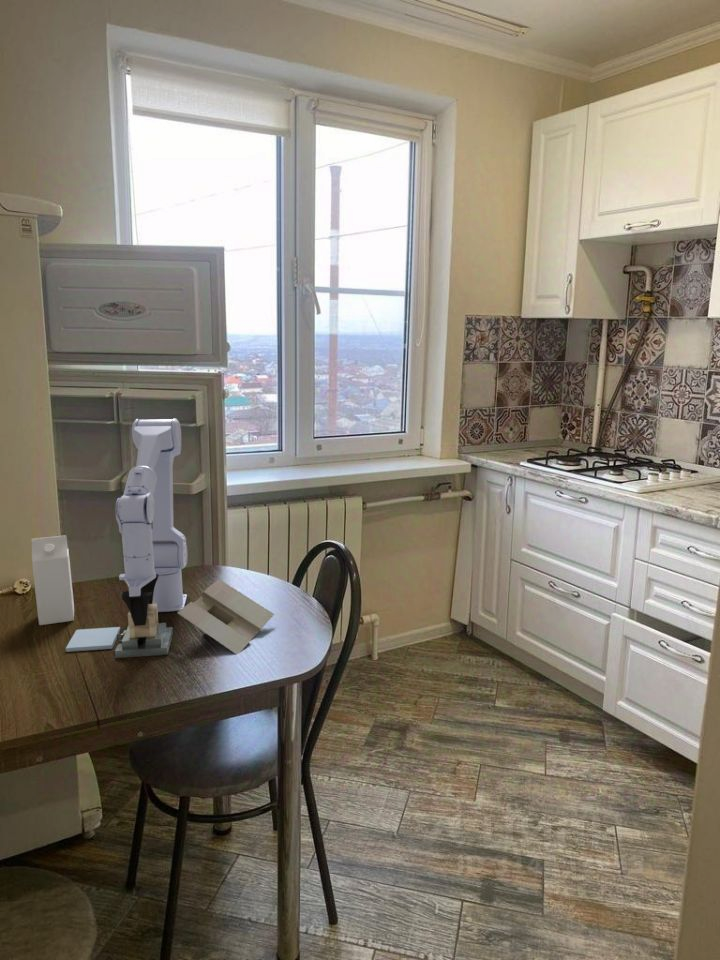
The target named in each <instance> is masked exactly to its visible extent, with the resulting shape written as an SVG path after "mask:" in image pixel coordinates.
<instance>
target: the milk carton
mask: <svg viewBox="0 0 720 960" xmlns="http://www.w3.org/2000/svg"><path fill="white" fill-rule="evenodd" d="M67 538H68V537H67V535H58V536H47V537H36V538H31V540H30V541H31V562H32V563H31V564H32V573H33V583H34V592H35V600H36V609H37V619H38V625H39V626H44V625H51V624H57V623H66V622H72V621H74V619H75V603H74V593H73V582H72V570H71V561H70V553H69V546H68V539H67Z"/></svg>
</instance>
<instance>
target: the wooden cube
mask: <svg viewBox="0 0 720 960" xmlns="http://www.w3.org/2000/svg"><path fill="white" fill-rule="evenodd" d="M158 614H159V612H158V611H157V604H148V610H147V620H146V624H145V625H141V626H135V625H134V623H133V620H132V617H131V613H130V611H128V613H127V620H128V621H127V622H128V625H129V635H130V638H135V637H150V636H156V632H157V629H158V626H159V625H158V623H159V615H158Z"/></svg>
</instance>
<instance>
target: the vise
mask: <svg viewBox="0 0 720 960" xmlns="http://www.w3.org/2000/svg"><path fill="white" fill-rule="evenodd" d="M158 625H159V626H158V629H157V632H156V636H150V637H135V638H130V635H129V624H128V625H127V629H124V630H123V632H122V633H119V634H117V639H116V641H118V643H117V645H116V648H115V650H114V654H115V659H121V658H122V659H123V658H135V657H149V656H150V657H151V656H164V655H168V653H169V650H170V646H171V643H172V639H173V636H174V628H173V626H169V627H167V622H160V623H159V622H158Z"/></svg>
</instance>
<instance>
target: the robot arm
mask: <svg viewBox="0 0 720 960" xmlns="http://www.w3.org/2000/svg"><path fill="white" fill-rule="evenodd" d="M180 423H181V422H180V421H179V420H178V419H177V418H173V419H172V418H171V419H169V418H168V419H167V418H164V419H163V418H161V419H159V418H157V419H154V418H153V419H151V418H150V419H140V418H136V419H135V420H134V422H133V423H132V426H131V436H132V437H131V438H132V441H133V444H134V445H135V446H134V447H135V448H136V449H137V457H136V463H135V464H136V465H135V466H134V467H133V468H131V469H130V470H129V472H128V476H127V479H126V483H125V488H124V491H123V493H122V494H123V495H121V496H120V497H118V498H117V499H116V502H115V519H116V522H117V525H118V533H119V534H121V541H122V553H123V554H122V555H123V566H124V567H123V568H124V573H120V574H119V576H118V578H119V581H124V582H125V584H126V585H127V587H128V590H127V591H122V593H121V599H122V600H123V602H124V603H125V605H126V606H127V608H128V610H129V611H130V613H131V617H132V620H133V623H134V625H135V626H141V625H145V624H146V620H147V610H148V604H157V611H158V613H164V612H165V613H166V612H168V613H169V612H179V611H180V610H181V609H183V608H184V607H185V606H186V602H187V597H188V595H187V594H186V593H183V590H184V589H183V577H182V570H183V569H185V567H186V566H187V563H188V546H187V537H186V536H185V535H184V534H183V532H182V531H179V530H178V529H177V528H175V526H174V477H173V476H174V475H173V473H174V470H173V469H174V468H173V467H174V460H175V457H177V456H179V455H181V454H182V453H181V452H182V451H181V450H182V427H181V424H180ZM164 541H165V542H164ZM168 541H169V542H168ZM129 611H128V612H129Z"/></svg>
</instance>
